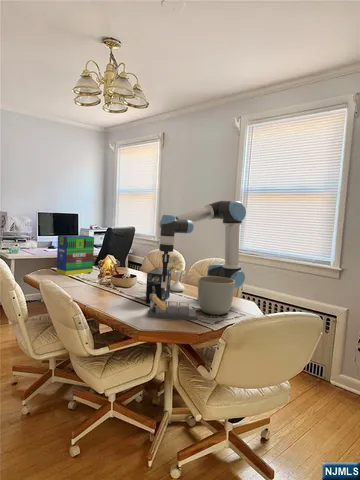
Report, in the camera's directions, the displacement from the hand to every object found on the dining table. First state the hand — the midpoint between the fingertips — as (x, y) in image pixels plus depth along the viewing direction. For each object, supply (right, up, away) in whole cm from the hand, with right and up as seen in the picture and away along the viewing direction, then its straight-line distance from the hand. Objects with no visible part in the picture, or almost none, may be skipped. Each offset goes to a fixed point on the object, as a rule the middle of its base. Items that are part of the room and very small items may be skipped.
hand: (163, 287), depth 184 cm
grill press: (+5, -15, +2) cm, 16 cm away
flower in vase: (+6, -11, +58) cm, 60 cm away
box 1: (-78, -2, +98) cm, 125 cm away
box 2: (-5, -12, +30) cm, 33 cm away
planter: (+28, -16, +12) cm, 35 cm away
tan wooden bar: (-3, -7, -8) cm, 11 cm away
